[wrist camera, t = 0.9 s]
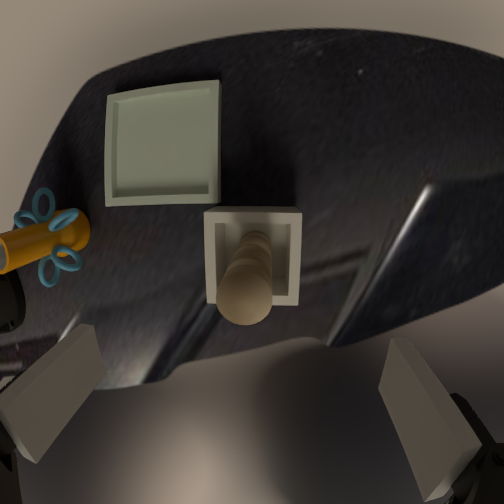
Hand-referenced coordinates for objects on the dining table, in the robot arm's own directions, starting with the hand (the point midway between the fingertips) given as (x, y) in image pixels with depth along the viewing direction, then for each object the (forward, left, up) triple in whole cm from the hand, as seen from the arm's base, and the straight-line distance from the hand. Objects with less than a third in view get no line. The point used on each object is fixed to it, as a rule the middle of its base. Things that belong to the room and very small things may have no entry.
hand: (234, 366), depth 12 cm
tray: (-11, +12, -24) cm, 29 cm away
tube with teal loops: (-25, +2, -24) cm, 35 cm away
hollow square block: (0, 0, -24) cm, 24 cm away
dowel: (0, 0, -23) cm, 23 cm away
